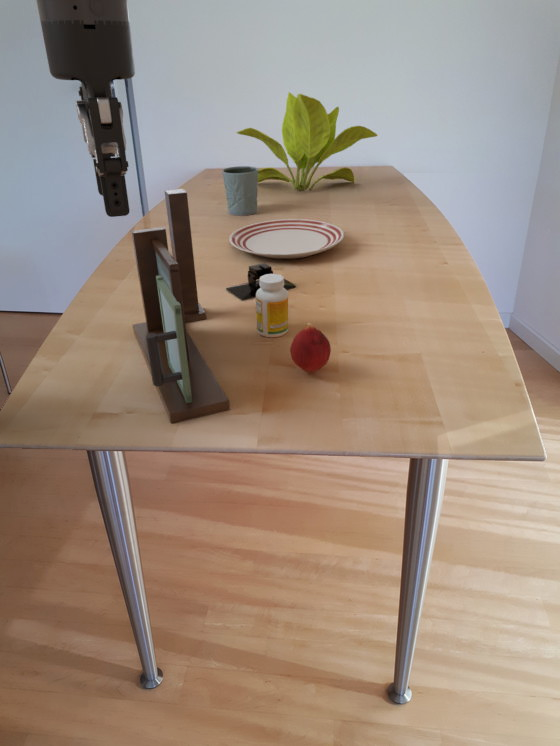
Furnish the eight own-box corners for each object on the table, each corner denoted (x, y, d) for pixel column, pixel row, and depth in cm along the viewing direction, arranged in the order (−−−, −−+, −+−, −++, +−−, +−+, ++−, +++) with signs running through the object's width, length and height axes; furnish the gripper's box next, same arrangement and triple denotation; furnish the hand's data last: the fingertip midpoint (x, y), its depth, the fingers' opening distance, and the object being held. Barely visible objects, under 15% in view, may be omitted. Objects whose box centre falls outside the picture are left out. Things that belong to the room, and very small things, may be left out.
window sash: (158, 410, 71) (142, 311, 64) (143, 370, 79) (127, 279, 72) (192, 402, 72) (180, 304, 65) (173, 364, 81) (161, 274, 74)
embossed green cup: (265, 210, 163) (264, 167, 157) (247, 218, 155) (244, 174, 149) (237, 206, 167) (235, 165, 161) (218, 214, 160) (215, 171, 154)
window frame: (170, 423, 71) (151, 294, 61) (133, 332, 94) (115, 228, 85) (229, 409, 73) (219, 283, 64) (179, 323, 96) (166, 222, 87)
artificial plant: (380, 208, 186) (392, 124, 188) (321, 148, 150) (336, 45, 152) (278, 216, 209) (290, 141, 211) (205, 166, 173) (220, 76, 175)
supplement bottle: (251, 334, 92) (248, 280, 87) (266, 322, 96) (264, 270, 91) (279, 340, 90) (278, 286, 85) (293, 327, 94) (293, 274, 89)
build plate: (241, 301, 105) (240, 278, 102) (225, 289, 110) (223, 267, 108) (296, 287, 110) (296, 265, 108) (277, 276, 115) (277, 255, 113)
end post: (179, 323, 96) (163, 196, 85) (173, 313, 100) (157, 189, 89) (206, 318, 98) (194, 192, 87) (199, 308, 102) (187, 186, 91)
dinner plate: (251, 273, 117) (250, 258, 115) (216, 238, 139) (215, 225, 137) (364, 256, 125) (365, 242, 124) (314, 225, 147) (314, 213, 146)
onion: (331, 364, 83) (333, 316, 79) (326, 383, 78) (328, 334, 74) (294, 361, 84) (294, 313, 80) (287, 380, 79) (286, 330, 75)
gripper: (39, 18, 52) (72, 191, 61) (39, 13, 41) (79, 227, 50) (119, 19, 55) (140, 186, 63) (140, 15, 43) (162, 219, 52)
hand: (113, 204), depth 56 cm, fingers open, 8 cm apart
